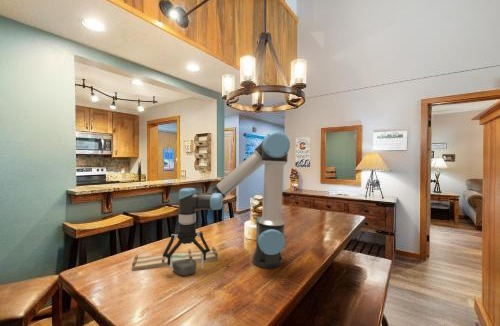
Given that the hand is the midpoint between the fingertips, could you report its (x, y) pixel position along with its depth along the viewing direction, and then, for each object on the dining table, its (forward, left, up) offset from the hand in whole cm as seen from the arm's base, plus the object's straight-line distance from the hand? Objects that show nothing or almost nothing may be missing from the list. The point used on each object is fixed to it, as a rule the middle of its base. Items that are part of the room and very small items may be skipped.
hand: (186, 269), depth 106 cm
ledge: (+16, +4, -2) cm, 17 cm away
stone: (+3, +1, -3) cm, 4 cm away
